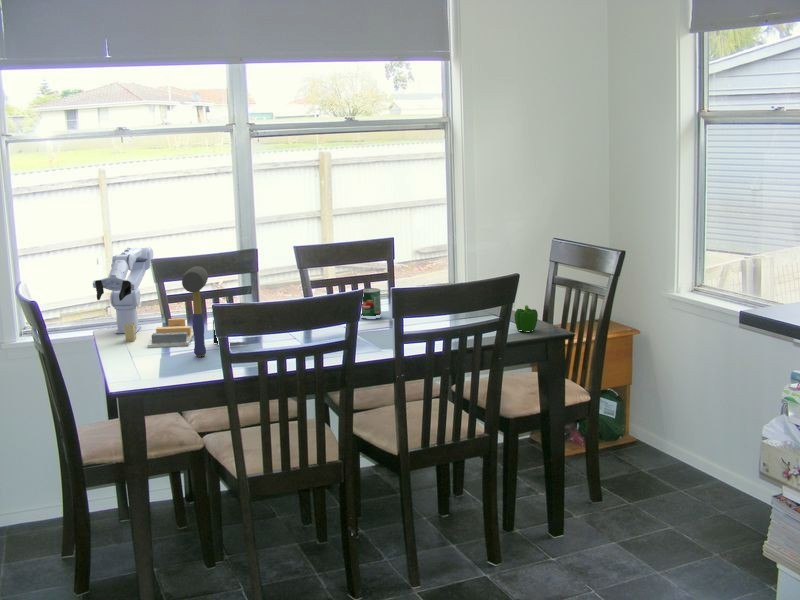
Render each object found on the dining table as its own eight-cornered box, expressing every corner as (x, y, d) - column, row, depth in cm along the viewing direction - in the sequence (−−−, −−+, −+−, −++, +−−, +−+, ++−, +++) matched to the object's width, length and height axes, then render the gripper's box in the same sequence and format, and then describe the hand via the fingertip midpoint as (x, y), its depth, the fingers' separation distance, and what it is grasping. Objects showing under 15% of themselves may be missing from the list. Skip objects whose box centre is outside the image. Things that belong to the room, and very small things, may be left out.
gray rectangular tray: (158, 331, 347) (158, 322, 346) (196, 330, 348) (196, 320, 347) (147, 347, 323) (146, 337, 323) (188, 345, 324) (187, 336, 324)
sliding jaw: (161, 328, 346) (160, 319, 345) (193, 327, 347) (193, 317, 346) (156, 335, 336) (155, 325, 335) (190, 334, 337) (189, 324, 336)
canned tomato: (383, 315, 365) (382, 288, 363) (378, 320, 358) (378, 292, 355) (363, 315, 367) (362, 287, 364) (358, 319, 359) (357, 291, 357)
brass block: (127, 339, 336) (126, 323, 335) (136, 338, 336) (134, 322, 335) (125, 342, 332) (124, 325, 331) (134, 341, 333) (132, 325, 331)
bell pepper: (517, 328, 340) (517, 301, 338) (539, 329, 337) (539, 302, 335) (511, 333, 332) (511, 306, 330) (534, 334, 329) (534, 307, 327)
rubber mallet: (209, 360, 304) (203, 270, 298) (186, 361, 304) (179, 271, 298) (214, 351, 317) (208, 264, 311) (192, 351, 316) (186, 265, 310)
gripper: (95, 266, 334) (86, 288, 323) (136, 267, 335) (128, 289, 324) (98, 282, 338) (89, 304, 327) (138, 283, 339) (131, 305, 328)
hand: (109, 298), depth 326 cm, fingers open, 7 cm apart
